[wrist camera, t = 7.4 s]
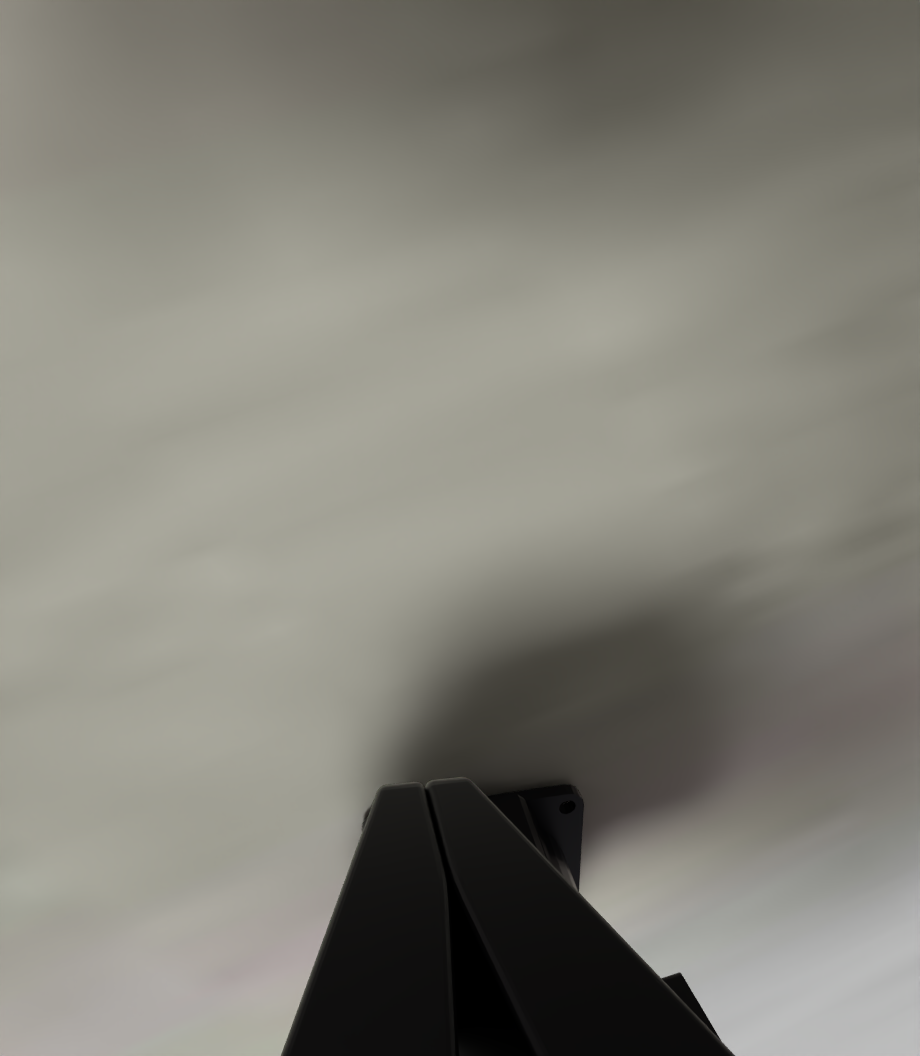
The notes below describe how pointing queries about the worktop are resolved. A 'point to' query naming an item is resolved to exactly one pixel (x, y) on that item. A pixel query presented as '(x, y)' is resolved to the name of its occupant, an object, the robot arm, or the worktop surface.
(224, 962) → the worktop surface
